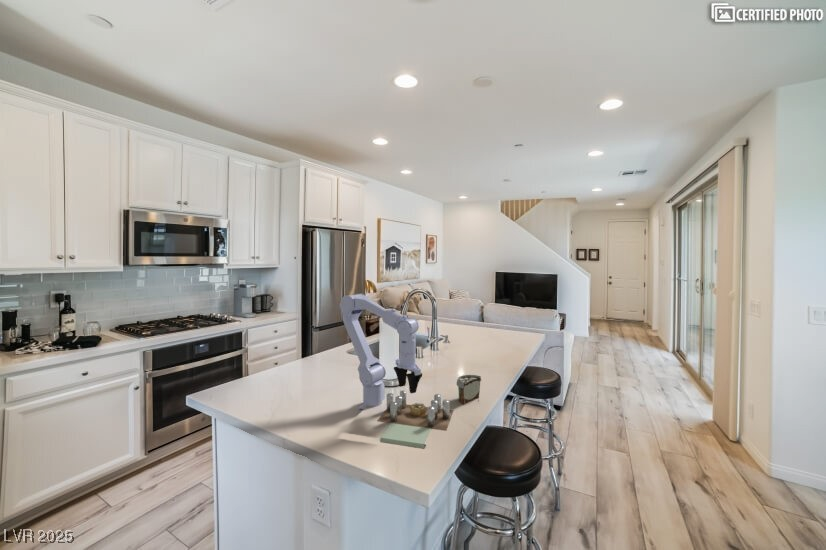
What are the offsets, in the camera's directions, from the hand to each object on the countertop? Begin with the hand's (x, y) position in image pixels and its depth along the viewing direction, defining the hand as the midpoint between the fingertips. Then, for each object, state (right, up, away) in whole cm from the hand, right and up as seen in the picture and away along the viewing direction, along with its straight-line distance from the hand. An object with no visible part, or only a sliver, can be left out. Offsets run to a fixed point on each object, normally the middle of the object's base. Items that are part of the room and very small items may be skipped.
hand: (407, 389), depth 127 cm
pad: (0, -10, -16) cm, 19 cm away
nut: (+4, -8, -1) cm, 9 cm away
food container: (+23, -10, +12) cm, 28 cm away
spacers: (+3, -8, -3) cm, 9 cm away
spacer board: (+3, -10, -3) cm, 11 cm away
